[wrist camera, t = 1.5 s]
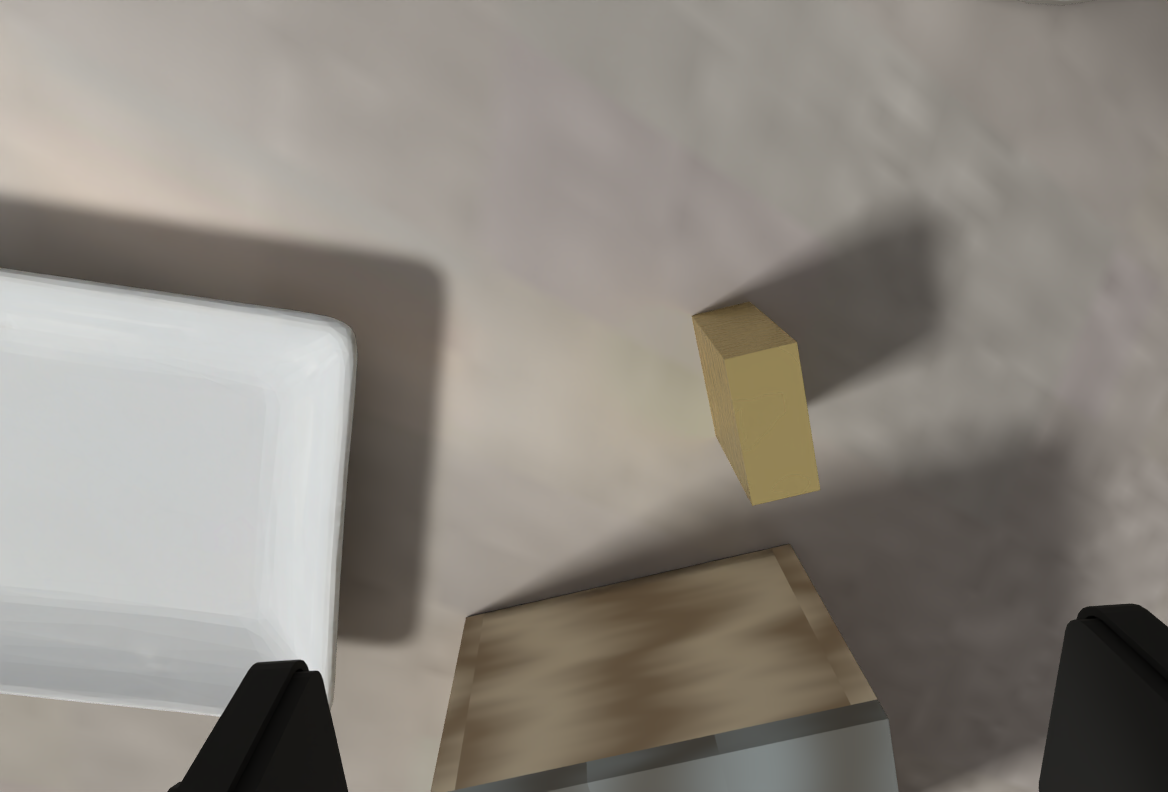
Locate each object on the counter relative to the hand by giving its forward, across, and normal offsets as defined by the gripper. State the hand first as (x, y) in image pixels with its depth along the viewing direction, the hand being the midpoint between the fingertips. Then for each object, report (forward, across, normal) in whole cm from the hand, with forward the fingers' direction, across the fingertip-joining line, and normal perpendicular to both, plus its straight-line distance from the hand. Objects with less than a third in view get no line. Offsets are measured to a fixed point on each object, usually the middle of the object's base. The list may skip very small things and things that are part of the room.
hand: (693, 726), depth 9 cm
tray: (+20, +26, +3) cm, 33 cm away
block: (+20, -4, +2) cm, 20 cm away
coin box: (+20, -1, +19) cm, 27 cm away
